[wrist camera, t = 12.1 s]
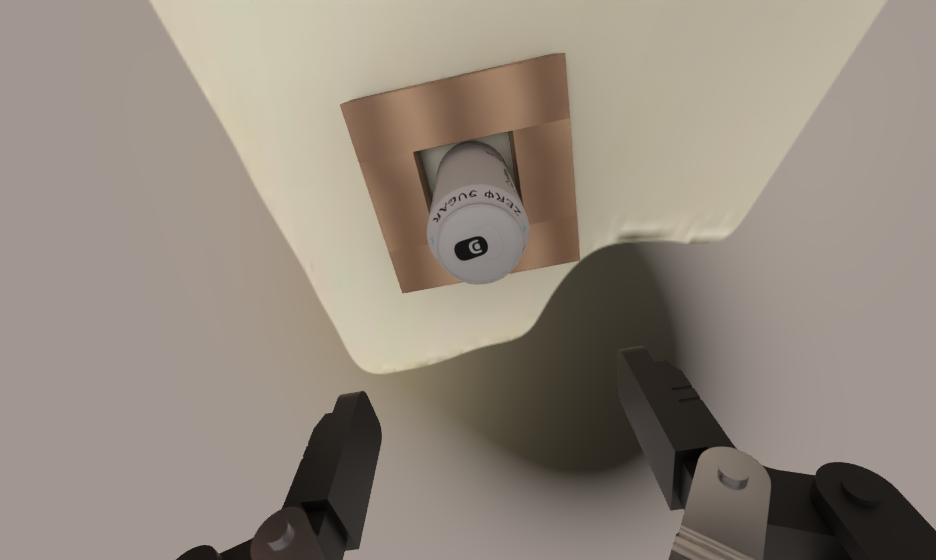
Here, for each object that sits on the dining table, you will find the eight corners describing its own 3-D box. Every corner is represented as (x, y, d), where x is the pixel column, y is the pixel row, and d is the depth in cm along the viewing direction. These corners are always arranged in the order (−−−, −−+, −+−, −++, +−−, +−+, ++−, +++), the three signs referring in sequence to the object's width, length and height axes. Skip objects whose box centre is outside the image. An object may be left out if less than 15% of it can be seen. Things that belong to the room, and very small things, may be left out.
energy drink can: (514, 195, 36) (546, 275, 23) (451, 217, 37) (447, 305, 24) (494, 128, 33) (517, 176, 20) (427, 154, 34) (406, 215, 21)
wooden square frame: (553, 53, 30) (565, 53, 27) (569, 241, 38) (580, 260, 35) (352, 99, 32) (339, 104, 28) (407, 272, 39) (402, 293, 36)
